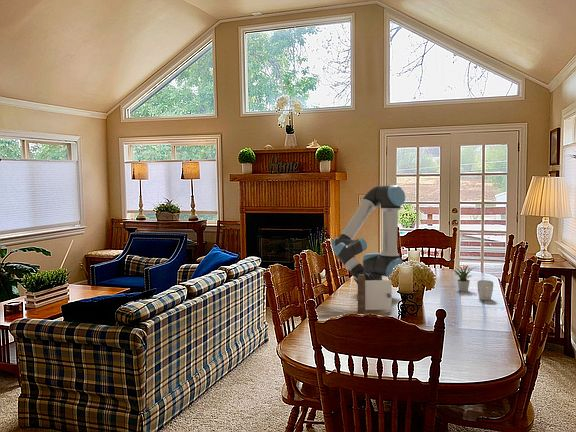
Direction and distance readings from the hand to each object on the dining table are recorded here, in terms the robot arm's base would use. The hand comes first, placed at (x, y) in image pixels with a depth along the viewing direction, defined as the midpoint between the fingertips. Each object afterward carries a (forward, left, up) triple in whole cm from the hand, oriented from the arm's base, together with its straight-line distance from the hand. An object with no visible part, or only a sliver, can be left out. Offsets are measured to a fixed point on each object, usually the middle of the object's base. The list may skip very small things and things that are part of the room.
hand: (380, 299), depth 272 cm
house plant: (-70, +21, -5) cm, 74 cm away
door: (+7, +2, -4) cm, 8 cm away
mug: (-53, +38, -5) cm, 65 cm away
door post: (+14, -4, -5) cm, 15 cm away
